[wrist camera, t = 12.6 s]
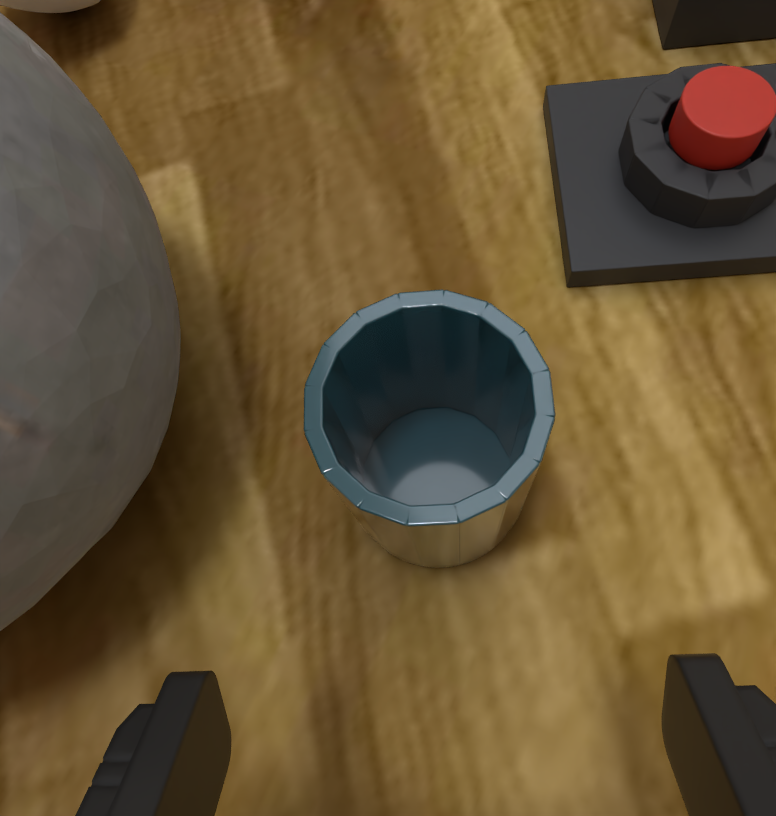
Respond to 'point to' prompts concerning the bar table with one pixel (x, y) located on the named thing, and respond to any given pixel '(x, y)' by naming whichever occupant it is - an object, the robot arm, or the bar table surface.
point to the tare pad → (652, 187)
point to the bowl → (72, 326)
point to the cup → (430, 423)
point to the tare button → (722, 117)
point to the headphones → (48, 5)
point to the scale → (714, 21)
